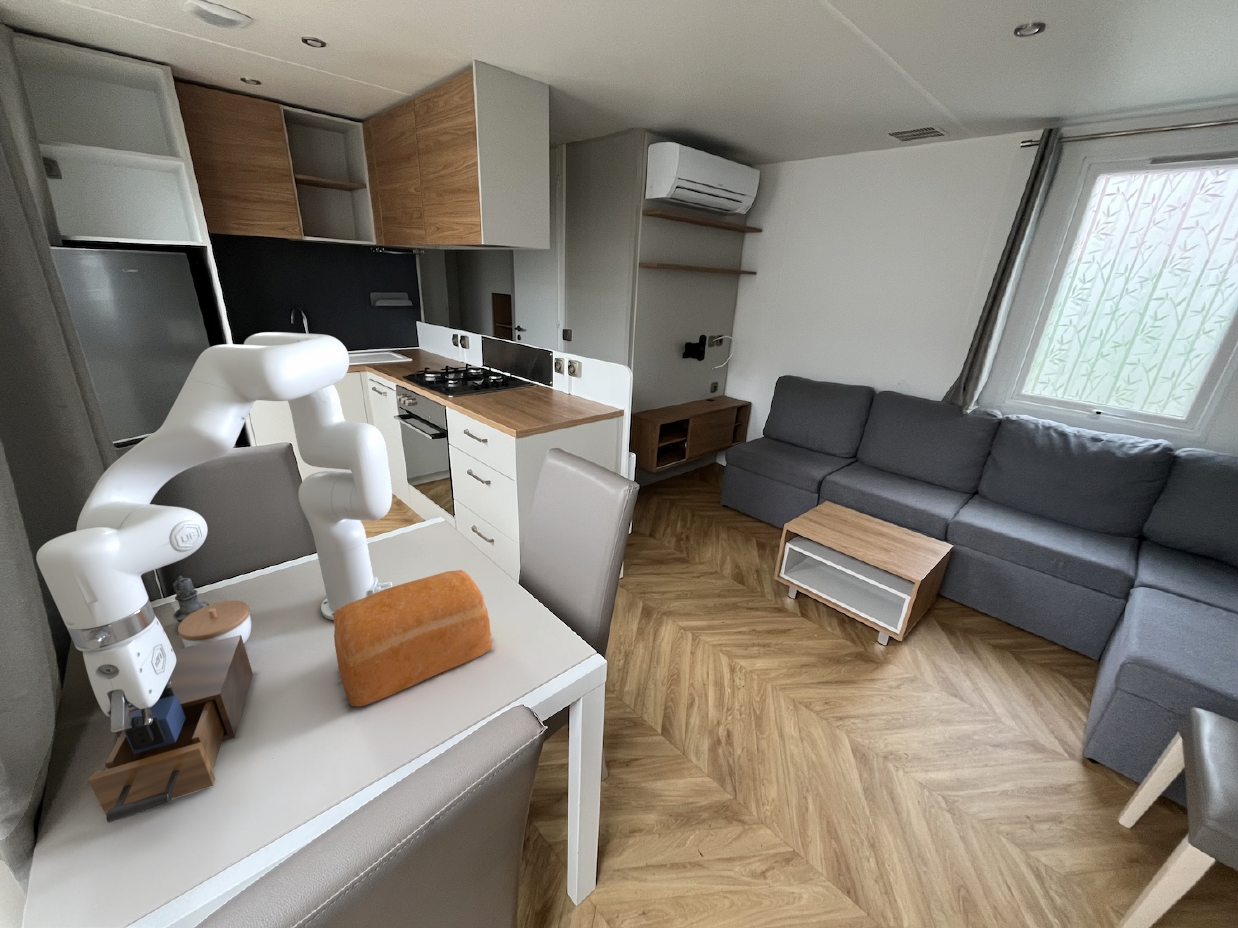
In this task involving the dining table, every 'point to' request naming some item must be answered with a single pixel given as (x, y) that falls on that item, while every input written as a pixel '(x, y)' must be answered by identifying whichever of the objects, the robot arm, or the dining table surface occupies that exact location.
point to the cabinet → (213, 679)
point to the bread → (409, 634)
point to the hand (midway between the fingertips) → (157, 727)
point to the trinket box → (216, 623)
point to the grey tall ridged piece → (186, 599)
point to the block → (164, 720)
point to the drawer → (161, 766)
